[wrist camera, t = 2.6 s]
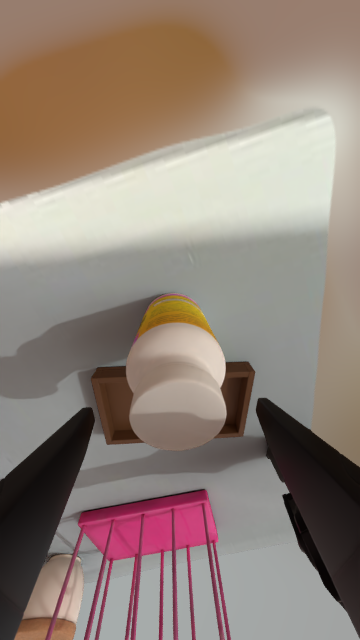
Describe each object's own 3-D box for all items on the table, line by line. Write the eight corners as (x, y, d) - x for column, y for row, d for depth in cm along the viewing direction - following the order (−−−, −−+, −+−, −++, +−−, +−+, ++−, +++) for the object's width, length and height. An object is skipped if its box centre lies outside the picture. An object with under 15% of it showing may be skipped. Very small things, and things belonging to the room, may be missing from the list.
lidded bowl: (98, 567, 43) (77, 664, 33) (48, 574, 43) (11, 674, 33) (83, 545, 39) (53, 650, 28) (27, 552, 39) (-24, 661, 28)
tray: (248, 361, 23) (255, 371, 21) (237, 423, 27) (243, 436, 25) (97, 367, 22) (90, 378, 20) (111, 430, 26) (106, 445, 24)
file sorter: (216, 529, 40) (244, 691, 25) (111, 548, 40) (77, 717, 25) (206, 488, 33) (235, 673, 19) (80, 511, 34) (12, 709, 19)
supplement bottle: (141, 292, 19) (91, 364, 7) (202, 290, 19) (257, 354, 7) (148, 346, 21) (119, 468, 9) (201, 343, 21) (241, 458, 9)
